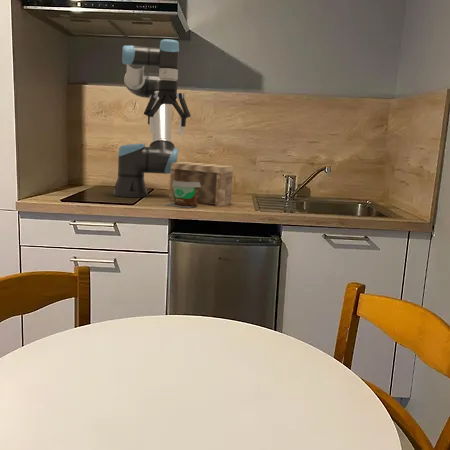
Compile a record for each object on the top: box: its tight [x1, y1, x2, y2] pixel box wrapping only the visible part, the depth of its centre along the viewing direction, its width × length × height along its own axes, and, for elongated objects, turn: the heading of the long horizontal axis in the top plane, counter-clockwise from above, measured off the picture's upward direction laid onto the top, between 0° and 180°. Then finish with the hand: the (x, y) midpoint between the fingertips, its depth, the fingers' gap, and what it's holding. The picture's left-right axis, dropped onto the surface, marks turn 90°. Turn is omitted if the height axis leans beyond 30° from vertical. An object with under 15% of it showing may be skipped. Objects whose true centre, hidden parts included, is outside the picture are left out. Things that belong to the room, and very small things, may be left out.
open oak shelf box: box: [169, 161, 234, 208], centre depth 231 cm, size 24×12×16 cm, turn 67°
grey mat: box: [164, 202, 195, 209], centre depth 218 cm, size 11×8×1 cm
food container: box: [172, 180, 201, 207], centre depth 217 cm, size 12×6×10 cm, turn 68°
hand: (166, 134), depth 216 cm, fingers open, 13 cm apart
